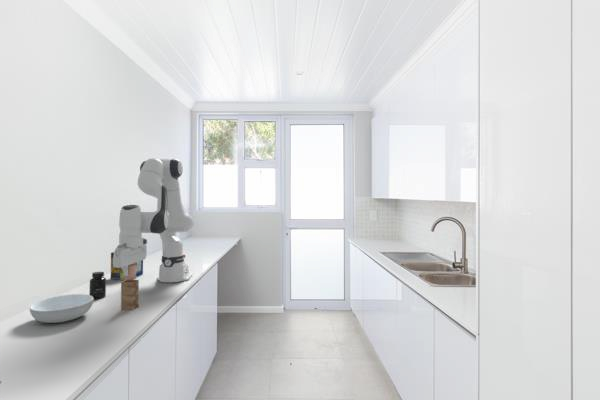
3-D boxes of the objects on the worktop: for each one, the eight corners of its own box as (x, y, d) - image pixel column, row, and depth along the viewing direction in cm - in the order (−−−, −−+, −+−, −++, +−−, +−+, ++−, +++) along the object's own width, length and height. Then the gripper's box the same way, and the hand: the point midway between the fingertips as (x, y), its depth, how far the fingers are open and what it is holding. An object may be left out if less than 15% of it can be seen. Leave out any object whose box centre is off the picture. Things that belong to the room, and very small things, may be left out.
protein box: (110, 279, 200) (110, 252, 200) (129, 273, 215) (129, 248, 215) (125, 280, 198) (125, 253, 197) (143, 274, 213) (143, 249, 212)
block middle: (127, 297, 153) (127, 288, 152) (138, 297, 152) (138, 288, 152) (121, 300, 148) (121, 291, 147) (132, 301, 147) (132, 291, 147)
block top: (127, 288, 152) (127, 279, 152) (138, 288, 152) (138, 279, 152) (121, 291, 147) (121, 282, 147) (132, 291, 147) (132, 282, 147)
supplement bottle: (98, 300, 161) (98, 274, 161) (85, 298, 162) (86, 273, 162) (109, 295, 167) (109, 271, 167) (97, 294, 169) (97, 270, 169)
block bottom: (127, 306, 153) (127, 297, 153) (138, 306, 152) (138, 297, 152) (121, 309, 148) (121, 300, 148) (132, 310, 147) (132, 301, 147)
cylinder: (128, 277, 152) (128, 263, 152) (138, 277, 152) (138, 264, 152) (122, 279, 148) (122, 265, 148) (132, 280, 147) (132, 266, 147)
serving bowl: (38, 313, 142) (38, 297, 142) (97, 307, 150) (97, 292, 150) (21, 332, 123) (21, 313, 123) (88, 324, 131) (88, 306, 131)
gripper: (123, 246, 139) (123, 279, 139) (149, 239, 159) (149, 269, 160) (108, 245, 139) (108, 279, 140) (136, 239, 160) (136, 268, 160)
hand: (130, 273), depth 150 cm, fingers closed on cylinder, 4 cm apart
